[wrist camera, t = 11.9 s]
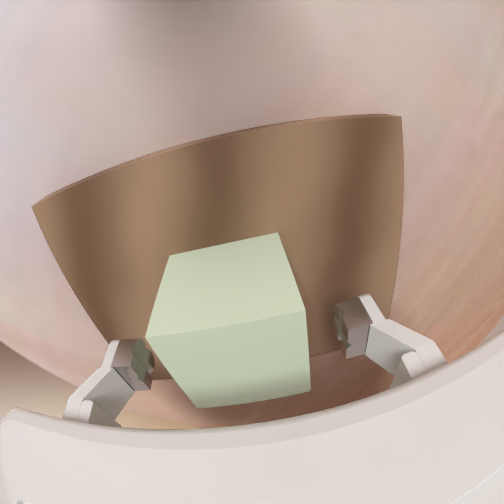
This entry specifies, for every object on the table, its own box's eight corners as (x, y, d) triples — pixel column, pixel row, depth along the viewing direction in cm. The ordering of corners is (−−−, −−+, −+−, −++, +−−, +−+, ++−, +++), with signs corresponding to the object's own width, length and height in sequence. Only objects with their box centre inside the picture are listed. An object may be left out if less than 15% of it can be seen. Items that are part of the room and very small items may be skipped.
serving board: (384, 114, 11) (401, 116, 9) (376, 321, 18) (384, 335, 17) (46, 196, 11) (31, 206, 10) (141, 365, 18) (138, 380, 17)
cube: (277, 232, 12) (305, 309, 8) (290, 313, 14) (310, 391, 10) (169, 255, 12) (144, 337, 8) (201, 330, 15) (197, 408, 10)
